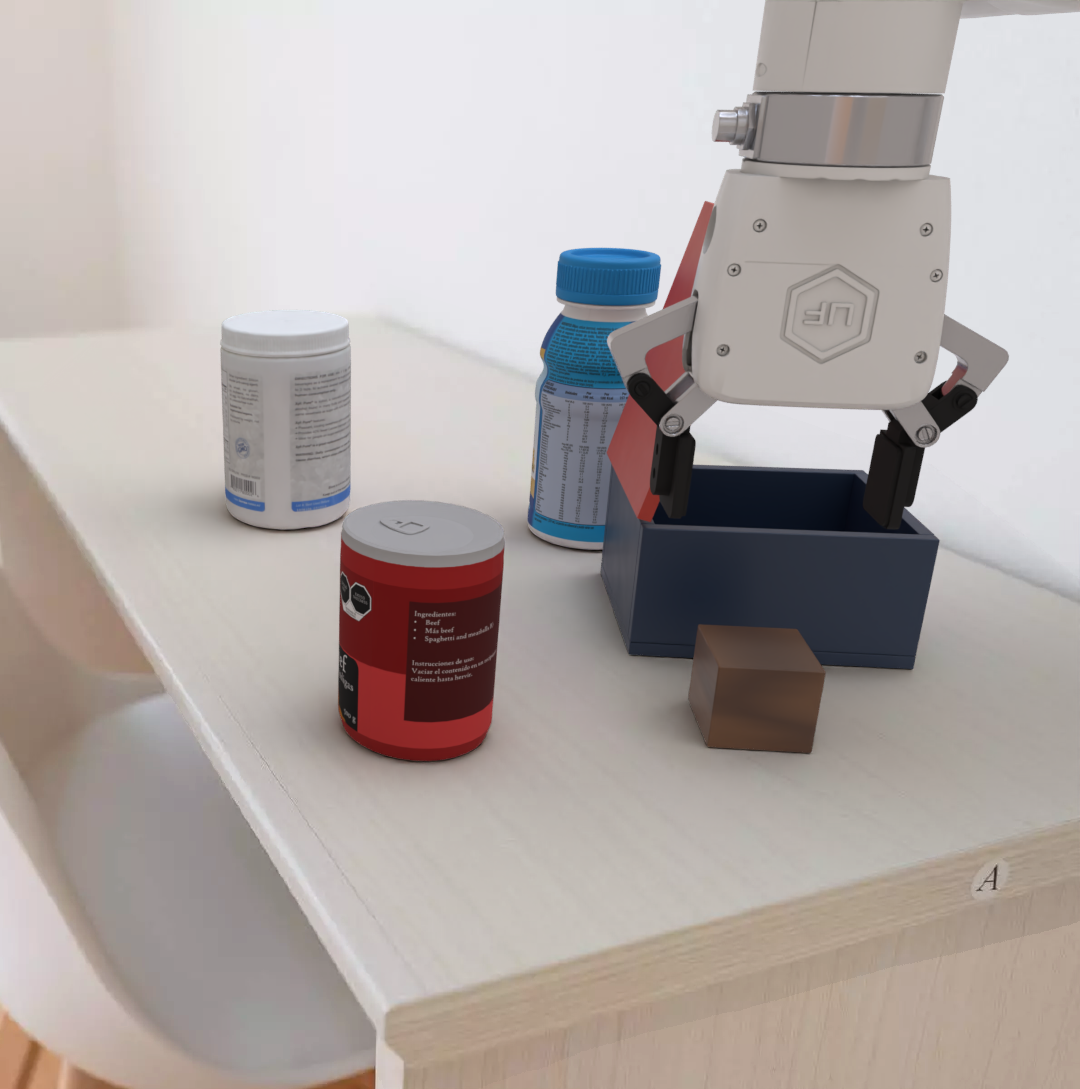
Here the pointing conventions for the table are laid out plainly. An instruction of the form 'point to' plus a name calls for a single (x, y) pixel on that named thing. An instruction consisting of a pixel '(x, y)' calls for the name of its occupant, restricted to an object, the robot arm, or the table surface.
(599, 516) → the beverage bottle
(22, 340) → the table surface
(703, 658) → the block
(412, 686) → the canned food
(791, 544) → the storage box
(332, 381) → the supplement tub
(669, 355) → the lid
